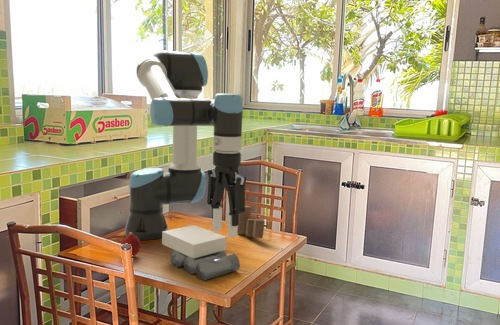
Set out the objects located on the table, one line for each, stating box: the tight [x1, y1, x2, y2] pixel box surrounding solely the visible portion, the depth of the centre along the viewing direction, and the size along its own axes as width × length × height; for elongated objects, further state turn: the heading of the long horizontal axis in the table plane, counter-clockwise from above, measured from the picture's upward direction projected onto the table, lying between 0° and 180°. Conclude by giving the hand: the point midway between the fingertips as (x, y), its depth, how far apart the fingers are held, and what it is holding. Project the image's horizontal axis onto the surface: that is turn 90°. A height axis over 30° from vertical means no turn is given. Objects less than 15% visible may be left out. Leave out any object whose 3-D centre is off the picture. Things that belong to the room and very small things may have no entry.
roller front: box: [183, 250, 227, 275], centre depth 141 cm, size 5×12×5 cm
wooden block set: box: [237, 204, 265, 239], centre depth 175 cm, size 18×9×10 cm, turn 12°
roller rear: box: [169, 249, 189, 268], centre depth 146 cm, size 5×12×5 cm
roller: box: [195, 253, 241, 282], centre depth 137 cm, size 5×12×5 cm
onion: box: [121, 232, 142, 257], centre depth 149 cm, size 6×6×8 cm
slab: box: [161, 224, 227, 258], centre depth 145 cm, size 16×12×4 cm
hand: (224, 233), depth 134 cm, fingers open, 6 cm apart
